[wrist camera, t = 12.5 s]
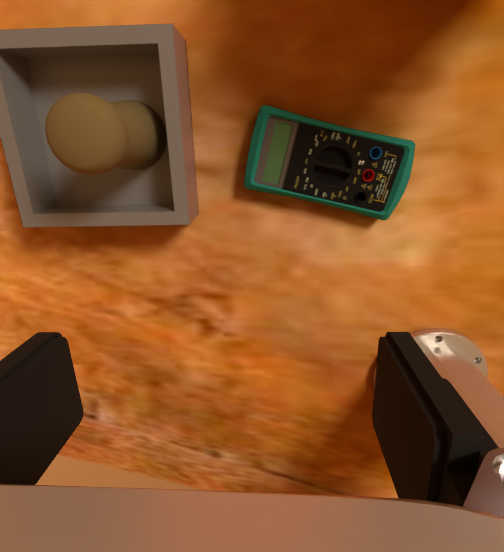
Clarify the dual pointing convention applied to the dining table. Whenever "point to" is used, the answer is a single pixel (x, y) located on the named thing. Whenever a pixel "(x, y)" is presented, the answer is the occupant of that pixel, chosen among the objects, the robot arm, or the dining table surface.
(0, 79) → the gray square tray
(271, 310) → the dining table surface
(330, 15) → the dining table surface
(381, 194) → the digital multimeter
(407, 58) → the dining table surface
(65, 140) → the tan piece
